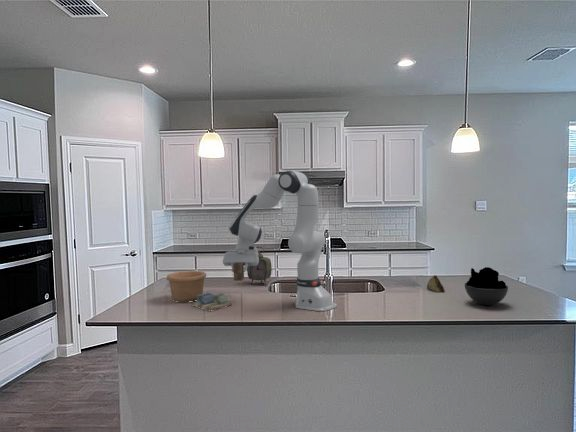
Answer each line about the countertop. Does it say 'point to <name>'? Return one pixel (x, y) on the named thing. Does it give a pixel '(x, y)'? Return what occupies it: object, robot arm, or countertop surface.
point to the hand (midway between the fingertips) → (238, 271)
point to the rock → (435, 284)
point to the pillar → (238, 271)
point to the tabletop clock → (260, 269)
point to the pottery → (186, 285)
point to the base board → (211, 306)
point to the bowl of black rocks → (486, 287)
